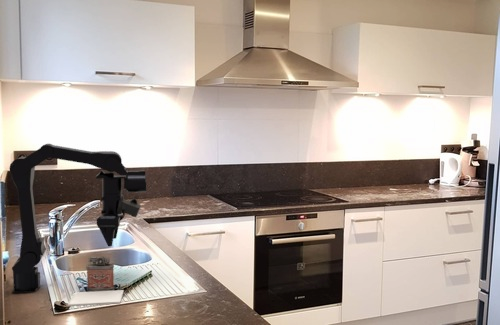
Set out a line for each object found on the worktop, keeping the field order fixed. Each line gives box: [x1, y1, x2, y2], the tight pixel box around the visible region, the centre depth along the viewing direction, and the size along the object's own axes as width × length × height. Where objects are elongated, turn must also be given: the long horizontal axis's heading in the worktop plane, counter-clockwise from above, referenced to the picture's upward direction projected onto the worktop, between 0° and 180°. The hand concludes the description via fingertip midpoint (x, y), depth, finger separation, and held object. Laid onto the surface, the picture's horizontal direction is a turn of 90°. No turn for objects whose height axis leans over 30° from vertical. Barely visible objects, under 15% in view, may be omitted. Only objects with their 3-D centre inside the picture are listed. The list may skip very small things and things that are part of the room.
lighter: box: [86, 255, 115, 292], centre depth 146 cm, size 8×3×10 cm, turn 92°
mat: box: [67, 289, 125, 307], centre depth 139 cm, size 14×9×1 cm, turn 99°
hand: (112, 242), depth 151 cm, fingers open, 9 cm apart
